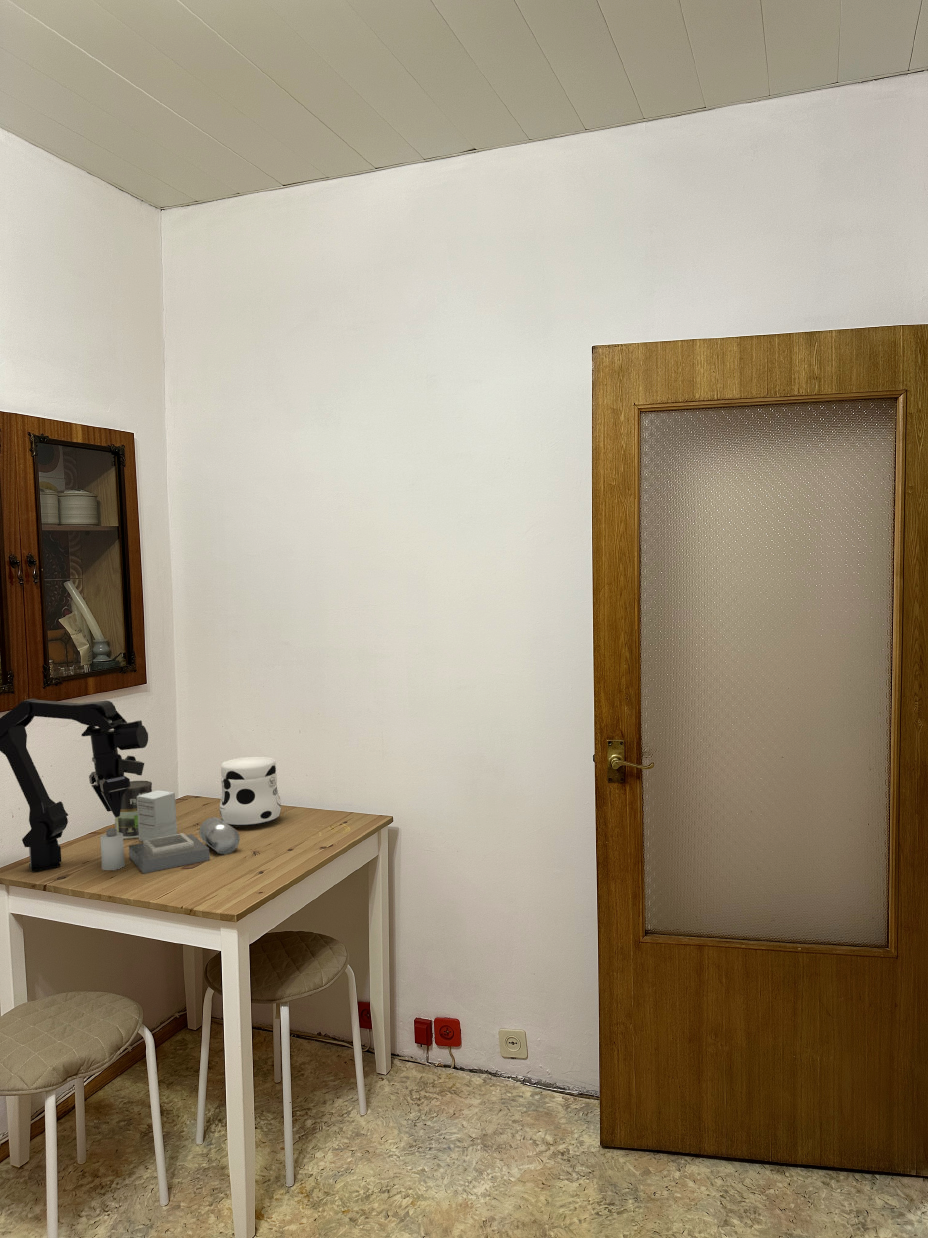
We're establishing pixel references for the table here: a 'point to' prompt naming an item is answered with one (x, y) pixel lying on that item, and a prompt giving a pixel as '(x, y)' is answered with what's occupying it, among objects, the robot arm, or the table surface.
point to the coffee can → (131, 809)
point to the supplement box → (156, 815)
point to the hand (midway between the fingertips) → (113, 814)
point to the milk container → (249, 792)
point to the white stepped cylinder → (112, 850)
